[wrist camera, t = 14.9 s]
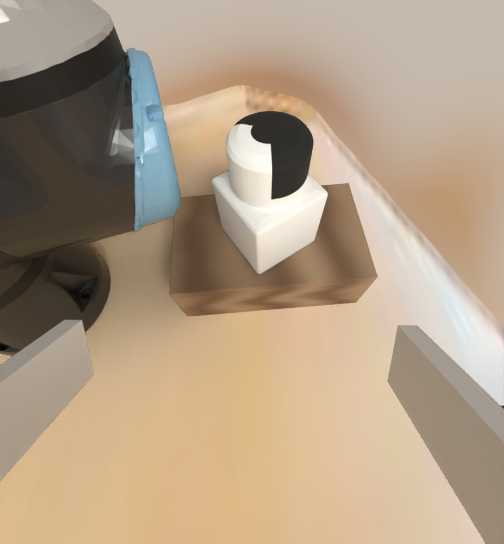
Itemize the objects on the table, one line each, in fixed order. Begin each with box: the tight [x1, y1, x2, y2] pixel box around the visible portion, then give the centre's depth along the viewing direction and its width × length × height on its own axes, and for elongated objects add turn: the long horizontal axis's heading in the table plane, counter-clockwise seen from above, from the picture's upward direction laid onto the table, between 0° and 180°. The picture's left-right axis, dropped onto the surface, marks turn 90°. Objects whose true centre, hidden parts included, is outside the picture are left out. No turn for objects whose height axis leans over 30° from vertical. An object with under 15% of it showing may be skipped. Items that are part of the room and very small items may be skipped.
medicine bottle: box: [212, 111, 328, 274], centre depth 24 cm, size 7×7×12 cm
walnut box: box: [169, 183, 377, 316], centre depth 32 cm, size 20×12×7 cm, turn 94°
